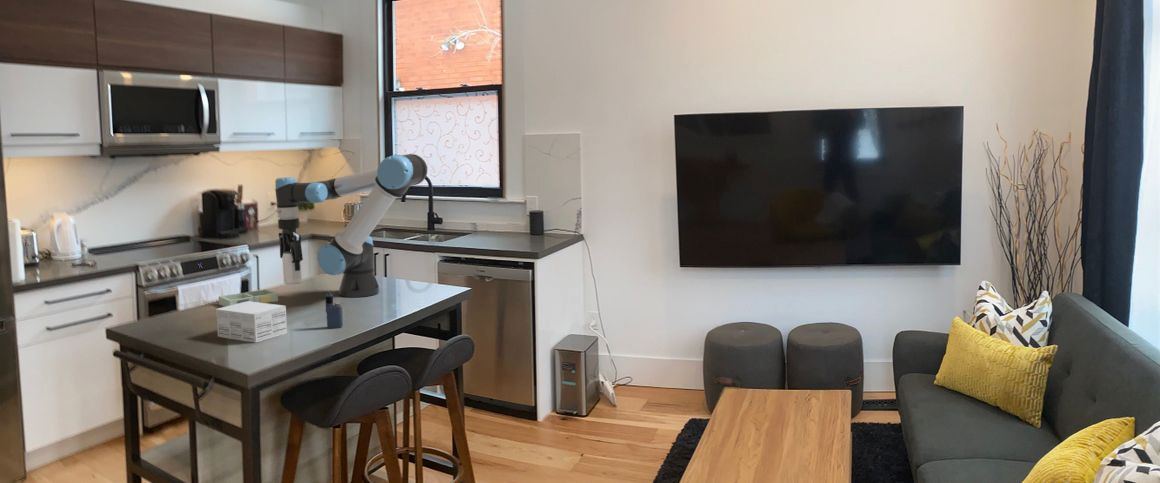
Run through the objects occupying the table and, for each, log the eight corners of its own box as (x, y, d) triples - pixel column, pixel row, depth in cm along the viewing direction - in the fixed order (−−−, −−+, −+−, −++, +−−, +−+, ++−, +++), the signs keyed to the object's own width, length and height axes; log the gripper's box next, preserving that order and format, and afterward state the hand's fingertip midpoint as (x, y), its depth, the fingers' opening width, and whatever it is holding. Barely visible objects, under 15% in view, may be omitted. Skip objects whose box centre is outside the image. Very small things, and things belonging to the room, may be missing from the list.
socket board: (278, 301, 305) (278, 293, 305) (230, 309, 293) (229, 300, 292) (266, 297, 313) (266, 289, 312) (219, 304, 300) (218, 296, 299)
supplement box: (288, 333, 261) (286, 305, 259) (255, 343, 249) (254, 313, 248) (250, 327, 268) (248, 299, 267) (217, 337, 256) (215, 308, 255)
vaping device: (327, 326, 269) (325, 291, 267) (343, 326, 270) (342, 290, 268) (325, 328, 267) (324, 292, 265) (342, 328, 267) (340, 292, 265)
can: (304, 281, 314) (302, 250, 313) (297, 284, 308) (295, 253, 306) (288, 281, 315) (286, 250, 313) (281, 284, 309) (278, 253, 307)
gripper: (267, 217, 312) (272, 276, 315) (290, 220, 299) (295, 282, 302) (286, 215, 317) (290, 273, 321) (309, 218, 304) (314, 279, 307)
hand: (292, 277), depth 311 cm, fingers closed on can, 6 cm apart
